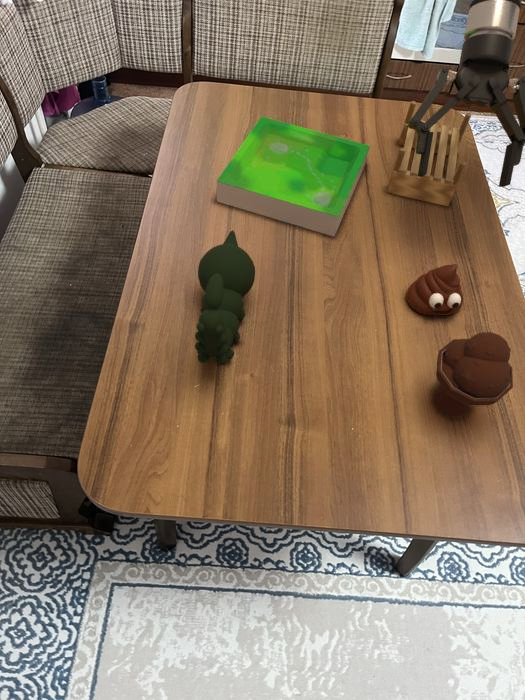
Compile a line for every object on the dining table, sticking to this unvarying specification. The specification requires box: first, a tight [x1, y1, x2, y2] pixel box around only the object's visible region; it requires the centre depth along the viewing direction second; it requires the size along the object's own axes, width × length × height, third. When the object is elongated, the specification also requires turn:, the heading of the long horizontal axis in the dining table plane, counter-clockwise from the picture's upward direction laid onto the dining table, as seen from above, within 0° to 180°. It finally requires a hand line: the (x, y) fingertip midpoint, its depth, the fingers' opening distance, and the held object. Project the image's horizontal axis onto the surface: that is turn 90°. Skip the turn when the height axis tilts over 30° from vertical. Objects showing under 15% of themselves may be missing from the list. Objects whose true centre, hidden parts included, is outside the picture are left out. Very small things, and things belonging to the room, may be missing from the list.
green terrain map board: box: [216, 116, 371, 238], centre depth 111 cm, size 25×25×5 cm
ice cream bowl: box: [434, 331, 514, 418], centre depth 78 cm, size 11×11×15 cm
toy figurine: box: [194, 230, 256, 366], centre depth 83 cm, size 9×19×25 cm
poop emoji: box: [406, 263, 464, 316], centre depth 92 cm, size 10×8×9 cm
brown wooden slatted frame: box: [386, 100, 472, 207], centre depth 114 cm, size 13×20×10 cm, turn 164°
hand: (463, 180), depth 87 cm, fingers open, 13 cm apart
